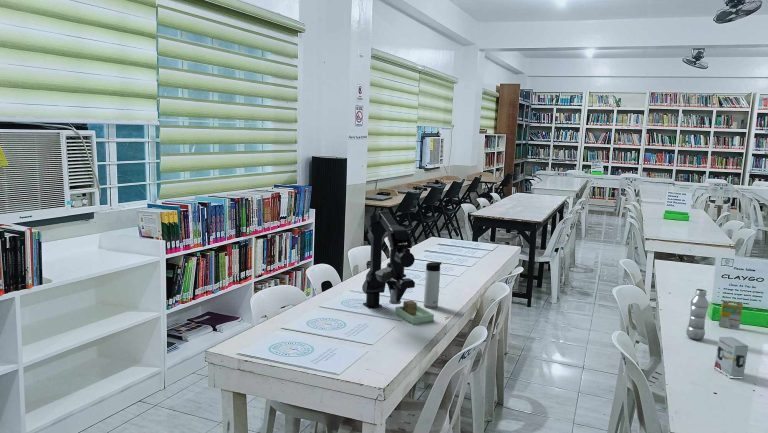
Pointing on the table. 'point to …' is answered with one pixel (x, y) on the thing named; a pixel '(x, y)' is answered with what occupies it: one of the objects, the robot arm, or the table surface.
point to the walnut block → (410, 307)
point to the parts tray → (420, 316)
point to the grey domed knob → (393, 297)
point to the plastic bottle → (698, 315)
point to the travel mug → (432, 285)
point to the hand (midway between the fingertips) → (395, 300)
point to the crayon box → (730, 315)
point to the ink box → (731, 356)
